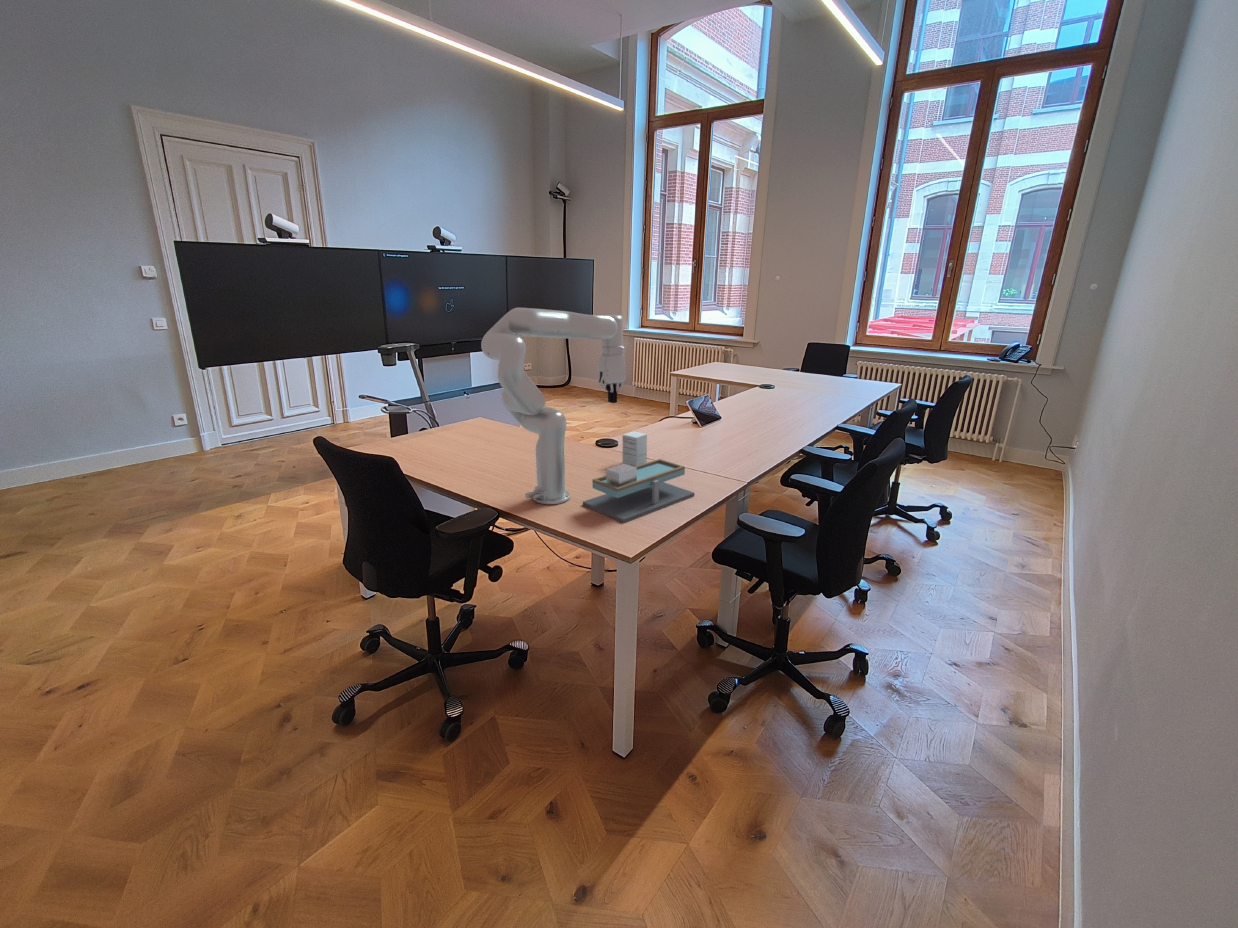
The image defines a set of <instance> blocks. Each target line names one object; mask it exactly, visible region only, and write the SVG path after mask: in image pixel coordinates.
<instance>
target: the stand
mask: <svg viewBox="0 0 1238 928" xmlns="http://www.w3.org/2000/svg"><path fill="white" fill-rule="evenodd" d="M692 497H693V498H694V497H695V492H693V491H690V490H689V489H685V488H682V487H679V486H675V485H673V484H669V483H668V482H666V481H665V482H662V483H659V480H655V481H652V486H651V487H648V488H645V489H642V490H639V491H636V492H633V493H630V494H628V495H625V496H622V497H619V498H616V497H614V496H611V495H609V494H606V493H604V494H602V495H598V496H596V497H593V498H589V499H587V500H584V501H582V506H585V507H586V508H588V509H591V510H593V511H596V512H598V513H600V514H602V515H605V516H607V517H609V518H612V519H614V520H616V521H618V522H619V523H620V522H621V523H624V524H625V523H627V522H630V521H632V520H635V519H638V518H641V517H643V516H645V515H648V514H651V513H654V512H656V511H659V510H662V509H664V508H666V507H669V506H671V505H675V504H677V503H680V502H681V501H682V502H683V501H685V500H687V499H690V498H692ZM674 503H675V504H674Z"/></svg>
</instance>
